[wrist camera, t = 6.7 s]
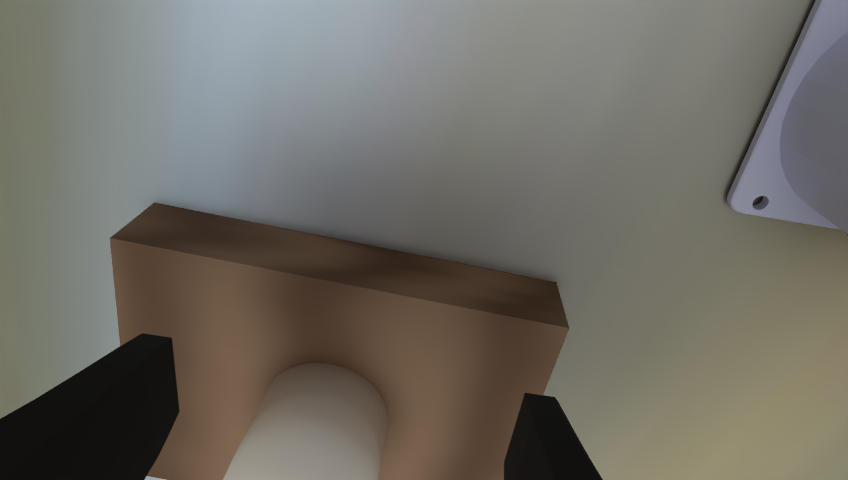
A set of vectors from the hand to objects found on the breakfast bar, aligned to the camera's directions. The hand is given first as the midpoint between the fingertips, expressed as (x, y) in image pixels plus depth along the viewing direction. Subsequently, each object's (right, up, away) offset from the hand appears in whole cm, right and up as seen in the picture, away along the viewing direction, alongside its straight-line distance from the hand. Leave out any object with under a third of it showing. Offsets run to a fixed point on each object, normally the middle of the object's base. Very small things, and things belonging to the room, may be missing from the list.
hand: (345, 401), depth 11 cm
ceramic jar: (-2, -4, +10) cm, 11 cm away
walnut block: (-2, -2, +13) cm, 14 cm away
